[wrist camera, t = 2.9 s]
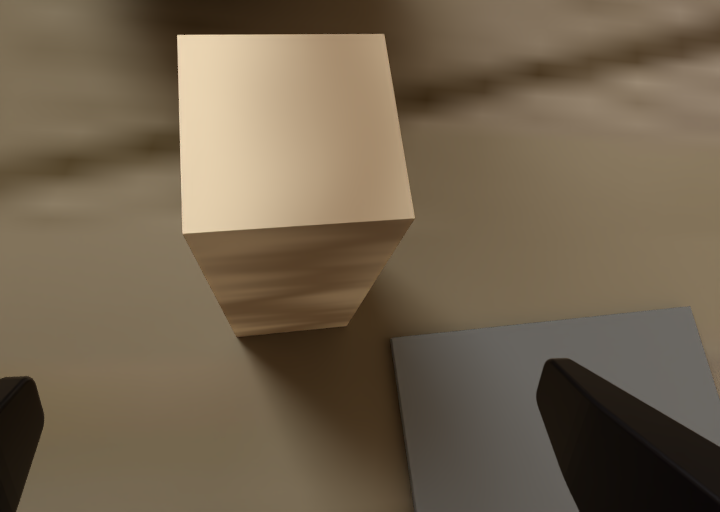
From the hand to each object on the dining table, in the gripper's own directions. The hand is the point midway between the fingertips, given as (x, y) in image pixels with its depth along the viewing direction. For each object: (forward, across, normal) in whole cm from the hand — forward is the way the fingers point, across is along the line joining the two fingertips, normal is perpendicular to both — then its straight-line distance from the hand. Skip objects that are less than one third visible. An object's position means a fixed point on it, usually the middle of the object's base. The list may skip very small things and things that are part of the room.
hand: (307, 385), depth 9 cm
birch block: (+12, 0, +5) cm, 13 cm away
